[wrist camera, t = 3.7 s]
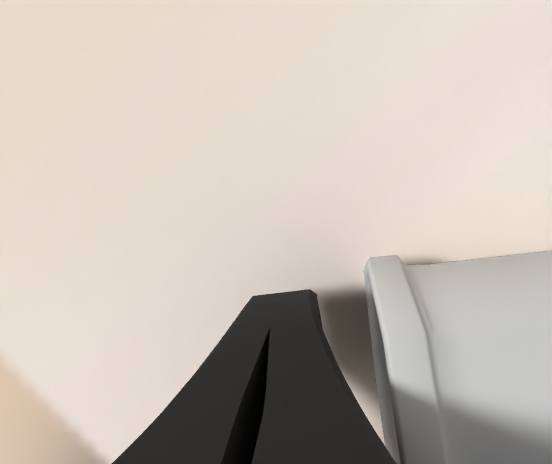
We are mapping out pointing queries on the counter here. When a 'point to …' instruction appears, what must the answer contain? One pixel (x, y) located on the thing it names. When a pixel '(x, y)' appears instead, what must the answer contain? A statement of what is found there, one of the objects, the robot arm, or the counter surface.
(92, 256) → the counter surface
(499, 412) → the tube
